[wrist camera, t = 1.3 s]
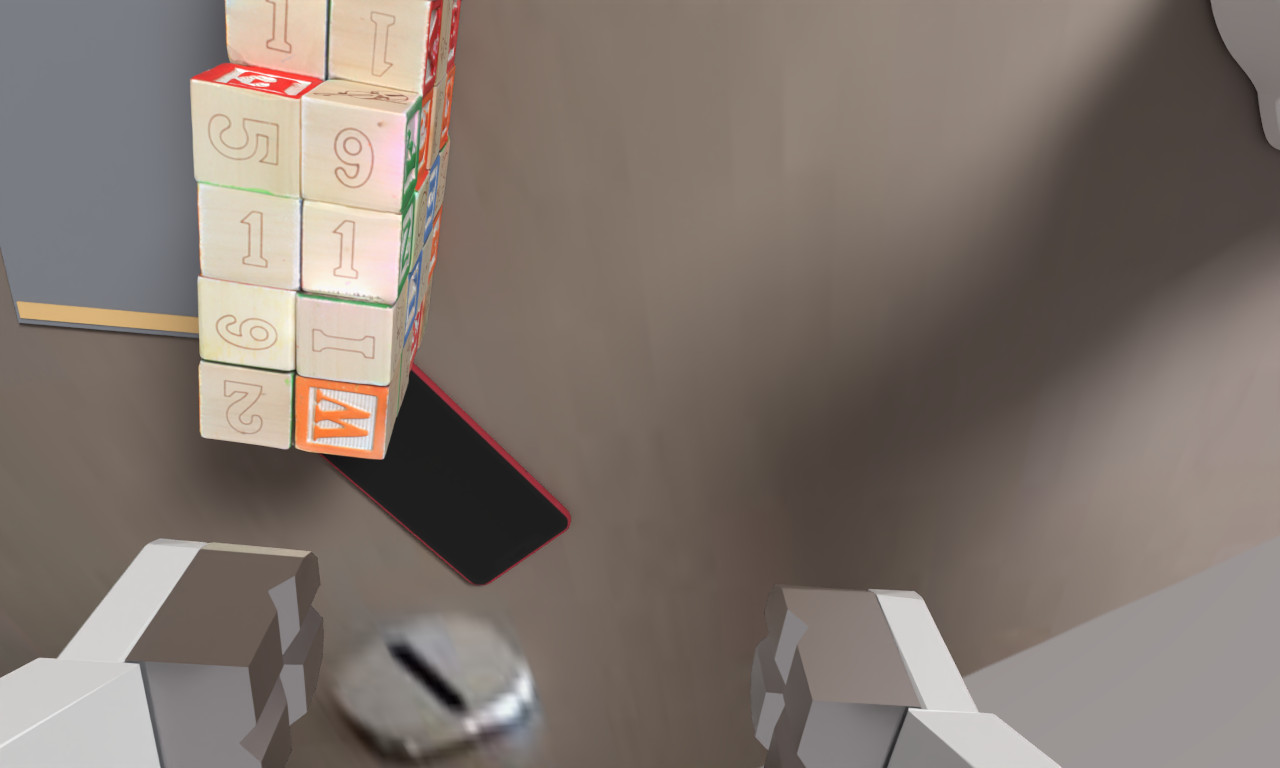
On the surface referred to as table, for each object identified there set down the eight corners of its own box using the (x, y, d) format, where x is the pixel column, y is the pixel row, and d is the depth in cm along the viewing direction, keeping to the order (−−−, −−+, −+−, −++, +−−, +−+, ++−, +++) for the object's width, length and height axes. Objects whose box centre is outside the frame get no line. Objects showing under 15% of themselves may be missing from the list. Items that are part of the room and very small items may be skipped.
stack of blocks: (311, -239, 30) (172, -336, 20) (487, -193, 31) (447, -261, 21) (294, 305, 40) (194, 443, 29) (430, 326, 41) (382, 467, 30)
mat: (255, -299, 30) (251, -302, 29) (304, 344, 41) (301, 347, 41) (-139, -357, 29) (-149, -360, 28) (22, 320, 40) (17, 323, 40)
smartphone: (372, 328, 40) (577, 524, 46) (376, 320, 41) (578, 514, 47) (270, 413, 42) (478, 592, 48) (276, 405, 43) (481, 581, 49)
